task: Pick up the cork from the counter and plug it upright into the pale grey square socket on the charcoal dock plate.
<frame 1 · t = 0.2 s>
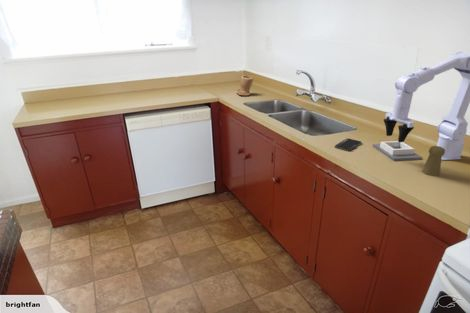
hand: (394, 138, 130), 10 cm above the counter, tool pointing down, fingers open, 7 cm apart
socket dock: (395, 152, 143), on the counter
cork: (430, 173, 124), on the counter
phone: (348, 146, 151), on the counter
stone cup: (244, 94, 252), on the counter
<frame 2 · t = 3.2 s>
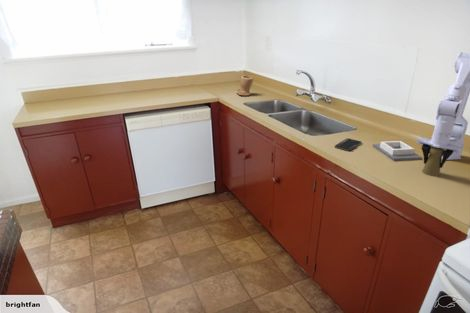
hand: (433, 164, 122), 3 cm above the counter, tool pointing down, fingers closed on cork, 5 cm apart
cork: (430, 173, 124), on the counter, touching gripper
everything else where it was.
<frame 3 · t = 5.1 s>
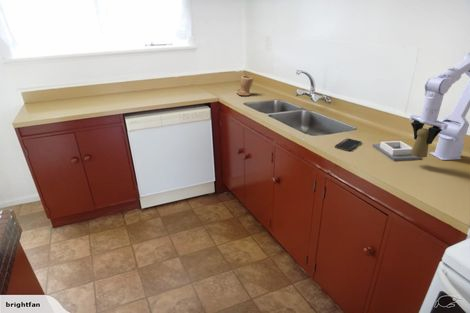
hand: (422, 141, 127), 10 cm above the counter, tool pointing down, fingers closed on cork, 5 cm apart
cork: (418, 155, 128), point 4 cm above the counter, touching gripper
everything else where it was.
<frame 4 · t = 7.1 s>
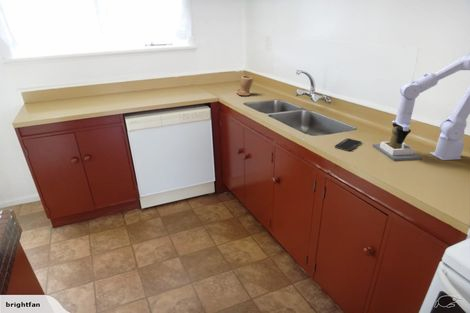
hand: (398, 141, 140), 5 cm above the counter, tool pointing down, fingers closed on cork, 5 cm apart
cork: (393, 150, 142), point 1 cm above the counter, touching gripper, socket dock
everything else where it was.
when the fingers open (5 cm above the counter, at t = 7.6 s): cork stays where it is, resting on socket dock.
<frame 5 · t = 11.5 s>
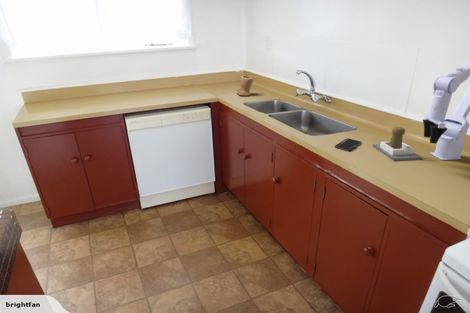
hand: (429, 140, 128), 10 cm above the counter, tool pointing down, fingers open, 7 cm apart
cork: (393, 150, 142), point 1 cm above the counter, touching socket dock
everything else where it was.
at the end: cork 1.0 cm off-centre on the socket dock, point 0.8 cm above the socket dock's base; cork tilted 0°; the gripper is holding nothing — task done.
